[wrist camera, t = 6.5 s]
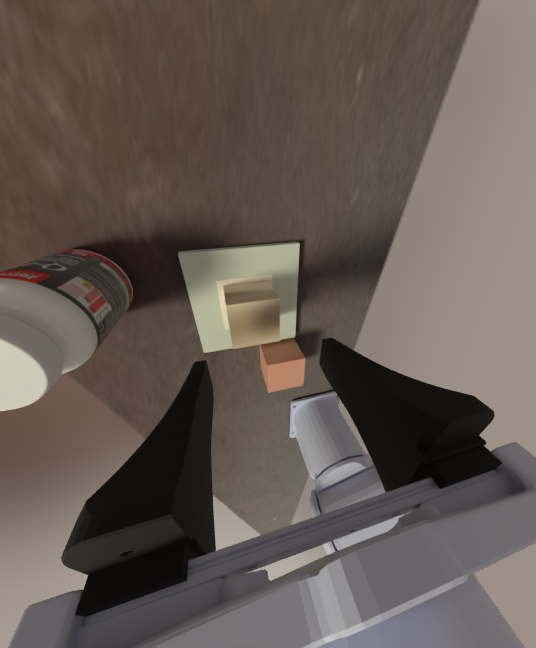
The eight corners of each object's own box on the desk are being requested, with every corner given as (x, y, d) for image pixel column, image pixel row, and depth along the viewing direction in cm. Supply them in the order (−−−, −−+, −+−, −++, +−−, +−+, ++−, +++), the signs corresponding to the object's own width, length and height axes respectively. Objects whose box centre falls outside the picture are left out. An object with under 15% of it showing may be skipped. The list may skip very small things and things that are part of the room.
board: (292, 333, 23) (295, 337, 23) (204, 348, 22) (203, 353, 21) (296, 241, 18) (299, 243, 17) (179, 251, 16) (177, 253, 16)
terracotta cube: (291, 361, 26) (303, 385, 23) (260, 367, 25) (268, 392, 22) (292, 336, 24) (305, 358, 20) (259, 341, 23) (267, 365, 20)
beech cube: (268, 318, 21) (279, 340, 17) (229, 324, 20) (232, 349, 17) (267, 280, 18) (279, 298, 15) (223, 285, 18) (225, 305, 14)
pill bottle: (91, 232, 14) (-69, 277, 6) (150, 295, 18) (97, 380, 9) (25, 272, 15) (-211, 364, 6) (95, 327, 18) (-3, 436, 10)
